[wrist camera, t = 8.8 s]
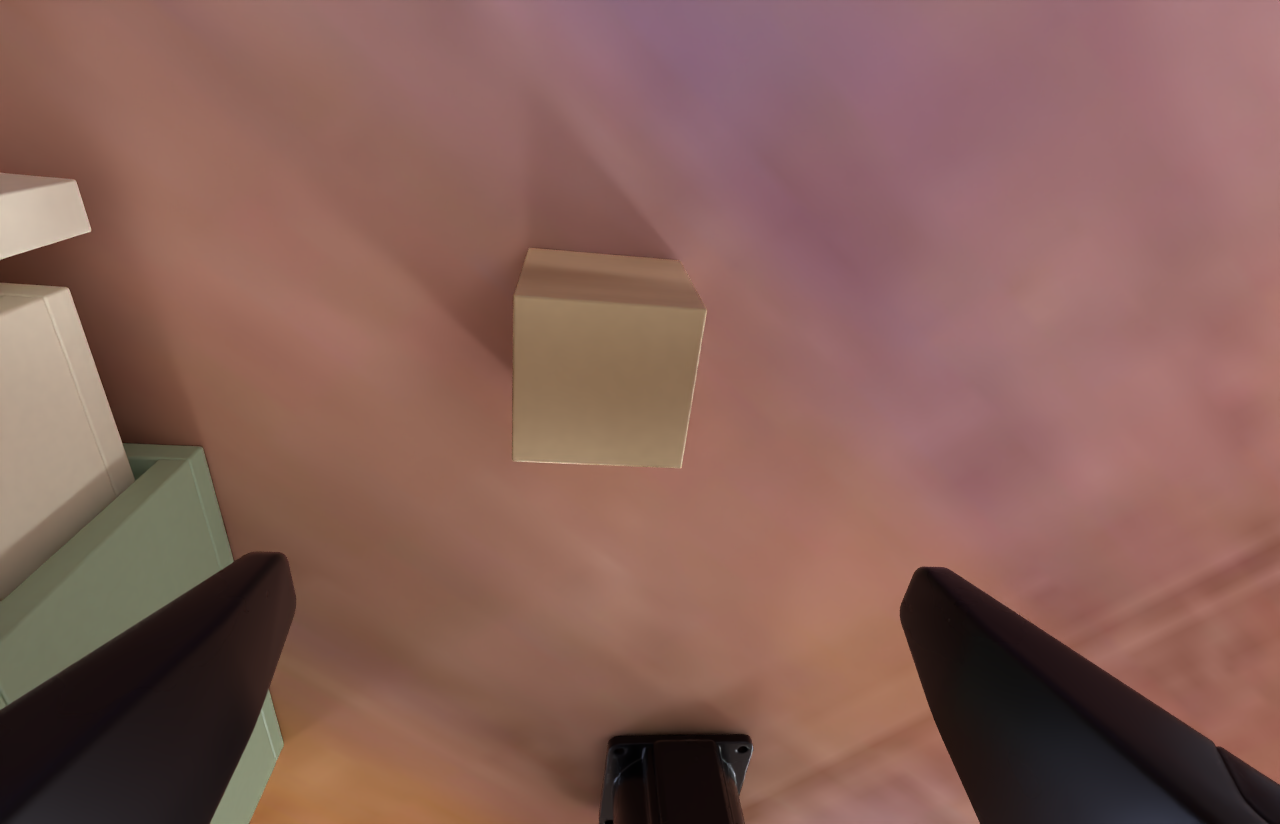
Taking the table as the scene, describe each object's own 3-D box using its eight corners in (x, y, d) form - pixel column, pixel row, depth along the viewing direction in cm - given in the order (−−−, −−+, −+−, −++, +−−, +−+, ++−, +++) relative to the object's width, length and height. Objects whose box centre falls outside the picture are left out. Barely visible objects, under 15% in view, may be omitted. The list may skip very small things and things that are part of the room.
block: (662, 393, 19) (681, 469, 15) (525, 386, 18) (511, 462, 15) (680, 259, 17) (708, 309, 13) (528, 246, 16) (512, 294, 13)
